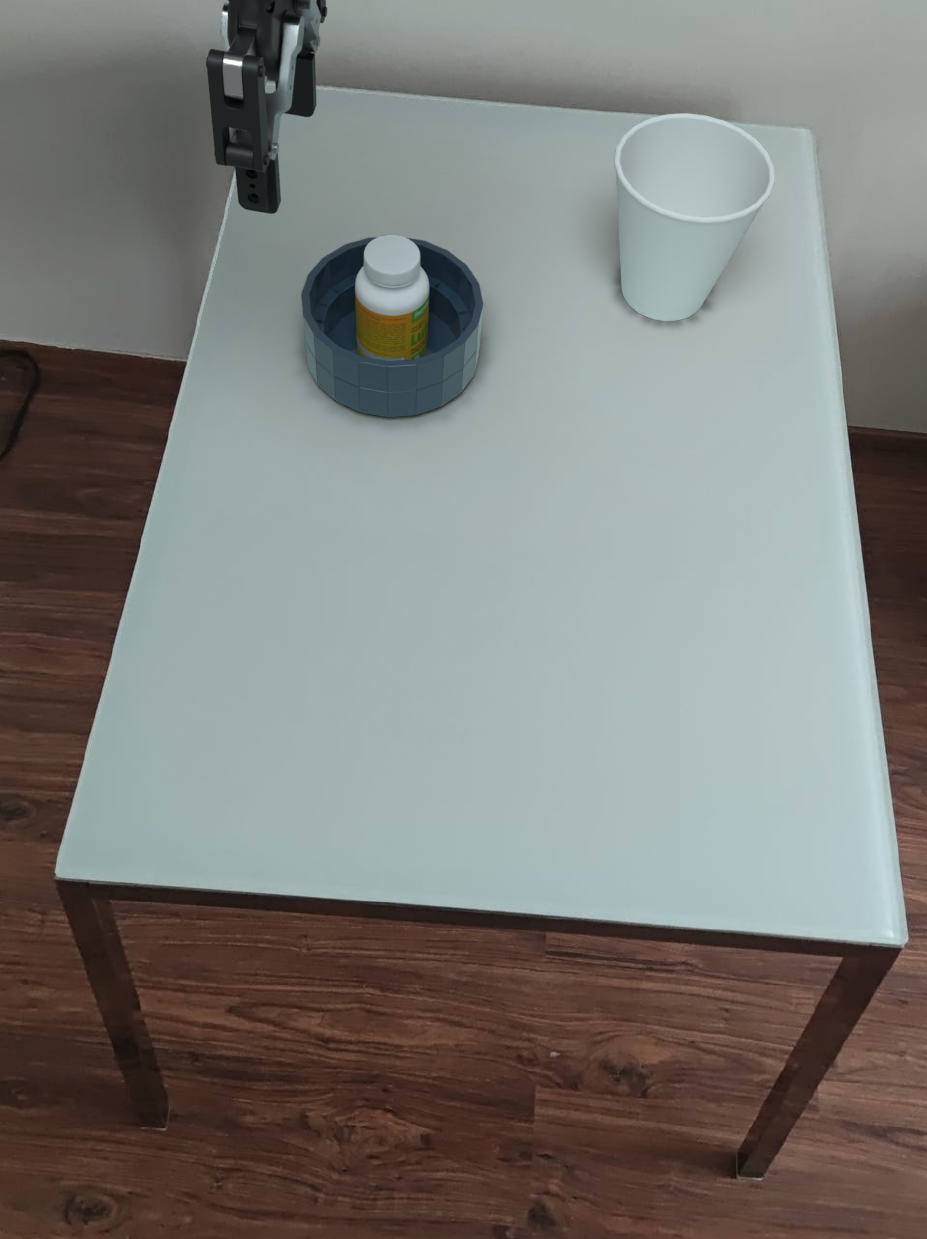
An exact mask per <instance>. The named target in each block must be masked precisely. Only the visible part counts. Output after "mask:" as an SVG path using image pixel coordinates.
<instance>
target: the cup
mask: <svg viewBox="0 0 927 1239" xmlns="http://www.w3.org/2000/svg"><path fill="white" fill-rule="evenodd" d="M613 162H614V164H613V165H614V166H613V167H614V170H615V181H616V196H617V197H616V198H617V200H616V201H617V221H618V242H619V244H618V245H619V262H620V285H621V286H620V287H621V292H622V296H623V298H624V300H625V301H626V303H627V305H629V307H630V308H632V309H633V310H634V311H635V312H636V313H639V314H640V315H642V316H644V317H646V318H649V319H652V320H655V321H661V322H662V321H663V322H676V321H680V320H681V321H682V320H685V319H687V318H689V317H691V316H693V315H694V314H696V313H698V311H699V310H700V308H701V307H702V306H703V304H704V302H705V301H706V300H707V298H708V296H709V294H710V293H711V291H712V290H713V288H714V287H715V284H716V283H717V281H718V279H719V278H720V276H721V275H722V273H723V272H724V270H725V268H726V266H727V265H728V263H729V262H730V260H731V258H732V257H733V256H734V254H735V252H736V250H737V249H738V247H739V245H740V244H741V242H742V240H743V238H744V237H745V235H746V234H747V232H748V231H749V229H750V227H751V225H752V224H753V222H754V221H755V219H756V217H757V216H758V214H759V212H760V211H761V209H762V207H763V206H764V204H765V203H766V202H767V201H768V200H769V198H770V197H771V194H772V192H773V189H774V187H775V185H776V168H775V165H774V163H773V161H772V157H771V156H770V154H769V153H768V151H767V150H766V148H765V147H764V146H763V145H762V144H761V142H760V141H759V140H757V139H756V138H755V137H754V136H753V135H751V134H750V133H749V132H747V131H746V130H744V129H743V128H741V127H739V126H737V125H735V124H732V123H731V122H728V121H726V120H723V119H719V118H716V117H713V116H709V115H705V114H697V113H688V112H685V113H684V112H683V113H682V112H681V113H665V114H662V115H658V116H653V117H650V118H648V119H646V120H643V121H642V122H639V123H638V124H635V125H633V126H632V127H631V128H630V129H628V131H627V132H626V133H624V134H623V135H622V136H621V138H620V140H619V142H618V144H617V146H616V148H615V149H614V161H613Z"/></svg>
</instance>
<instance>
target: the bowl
mask: <svg viewBox="0 0 927 1239" xmlns="http://www.w3.org/2000/svg"><path fill="white" fill-rule="evenodd" d="M377 237H378V236H371V237H366V238H362V239H358V240H355V241H352V242H348V243H345V244H343V245H341V246H340V247H338V248H336V249H335V250H333V251H332V252H331V251H330V253H328V254H326V255H324V256H323V257H322V258H321V259H320V260H319V261H318V263H316V265H314V267H312V269H311V270H310V271H309V272H308V274H307V276H306V279H305V282H304V285H303V287H302V290H301V293H300V298H301V311H302V323H303V334H304V345H305V346H304V347H305V357H306V366H307V368H308V370H309V372H310V374H311V376H312V378H313V379H314V381H315V384H316V385H318V387H319V388H320V389H322V390H323V391H324V392H325V393H326V394H327V395H329V397H330V398H332V399H333V400H334V401H336V402H337V403H339V404H341V405H344V406H346V407H348V408H350V409H351V410H355V411H357V412H359V413H360V414H361V413H363V414H366V415H367V414H368V415H373V416H379V417H384V418H385V417H386V418H392V417H393V418H394V417H407V416H408V417H409V416H415V415H416V416H418V415H420V414H423V413H426V412H429V411H433V410H436V409H438V408H441V407H443V406H445V405H446V404H448V402H450V401H451V400H453V399H454V398H456V397H458V396H459V395H460V394H461V393H462V392H463V391H464V390H465V388H466V387H467V385H468V384H469V383H470V381H471V380H472V379H473V377H474V376H475V374H476V370H477V366H478V361H479V357H480V347H481V336H482V324H483V313H484V312H483V311H484V300H483V295H482V290H481V289H482V288H481V285H480V282H479V281H478V279H477V278H476V277H475V275H474V274H473V272H472V271H471V269H470V268H469V266H468V265H467V264H466V263H465V262H464V261H462V260H461V259H460V258H458V257H457V256H456V255H455V254H453V253H452V252H451V251H449V250H448V249H445V248H444V247H441V246H438V245H436V244H434V243H431V242H429V241H427V240H422V239H419V238H418V239H417V238H412V237H405V236H404V237H405V238H407V239H409V240H411V241H412V242H414V243H415V244H416V246H417V247H418V249H419V251H420V266H421V267H422V269H423V270H424V271H425V273H426V275H427V277H428V280H429V314H428V339H427V352H426V356H423V357H420V358H417V359H410V360H394V361H385V360H380V359H374V358H368V357H362V356H360V355H358V351H357V339H356V303H355V282H356V277H357V275H358V273H359V271H360V269H361V268H362V267H363V266H364V250H365V248H366V246H367V245H368V243H369V242H371V241H372V240H373V239H375V238H377Z"/></svg>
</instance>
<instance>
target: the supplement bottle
mask: <svg viewBox="0 0 927 1239" xmlns="http://www.w3.org/2000/svg"><path fill="white" fill-rule="evenodd" d="M376 237H377V238H375V239H373V240H372V241H371V242H369V243H368V245H367V246H366V248H365V250H364V266H363V267H362V268H361V269H360V271H359V273H358V275H357V277H356V282H355V303H356V339H357V351H358V355H360V356H362V357H368V358H374V359H380V360H385V361H394V360H410V359H417V358H420V357H423V356H426V352H427V339H428V314H429V280H428V277H427V275H426V273H425V271H424V270H423V269H422V267H421V266H420V251H419V249H418V247H417V246H416V244H415V243H414V242H412V241H411V240H409V239H407V238H408V237H406V238H405V236H402V235H397V234H384V235H380V236H376Z"/></svg>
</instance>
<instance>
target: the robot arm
mask: <svg viewBox="0 0 927 1239" xmlns="http://www.w3.org/2000/svg"><path fill="white" fill-rule="evenodd" d="M327 15H328V7H327V0H227V2H224V3H223V6H222V9H221V16H220V33H219V34H220V37H221V39H222V41H223V50H221V49H215V48H210V49H209V51H208V54H207V56H206V60H205V67H206V71H207V72H206V73H207V82H208V83H207V84H208V93H209V104H210V114H211V115H210V116H211V126H212V133H213V134H212V136H213V148H214V151H213V152H214V153H213V154H214V158H215V164H216V165H218V166H224V167H234V174H235V183H236V191H237V192H236V193H237V201H238V204H239V206H240V207H241V208H242V209H243V210H247V211H251V212H257V213H258V212H259V213H264V214H270V215H274V214H276V213H277V212H278V211H279V207H280V205H281V202H282V195H281V180H280V179H281V177H280V162H279V152H280V143H279V138H280V129H281V118H282V115H283V114H286V115H291V116H297V117H304V118H310V117H312V116H313V115H314V113H315V110H316V107H317V77H316V76H317V74H316V54H317V52H318V49H319V47H320V46H321V36H320V24H324V22H325V20H326V18H327ZM268 81H271V82H274V85H275V91H273V92H269V93H268V92H266V86H267V83H268Z"/></svg>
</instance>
